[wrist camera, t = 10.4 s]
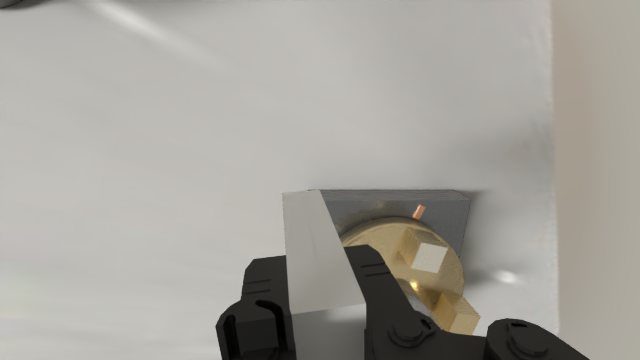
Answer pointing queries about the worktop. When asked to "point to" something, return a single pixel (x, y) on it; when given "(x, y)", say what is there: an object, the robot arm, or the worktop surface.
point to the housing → (401, 210)
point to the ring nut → (420, 269)
